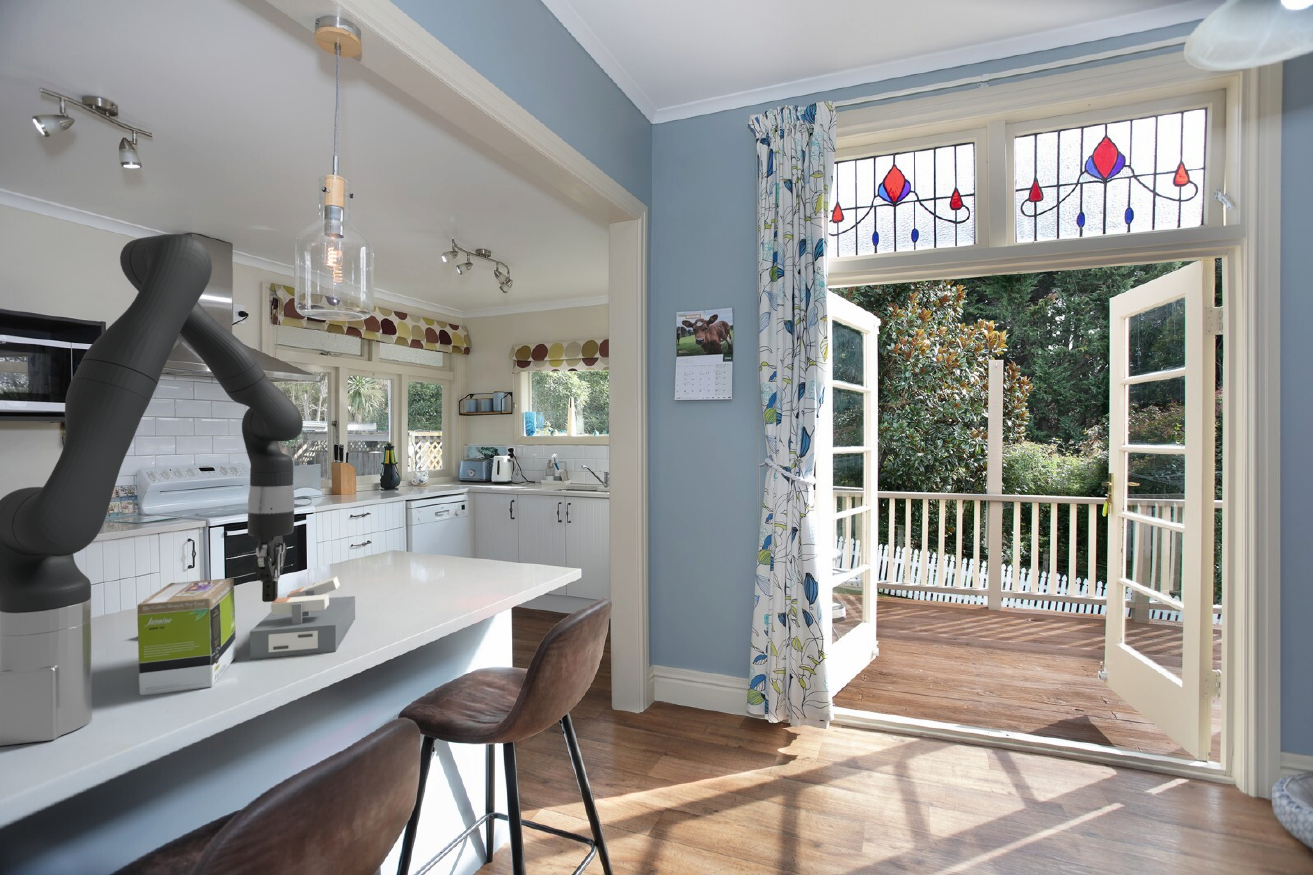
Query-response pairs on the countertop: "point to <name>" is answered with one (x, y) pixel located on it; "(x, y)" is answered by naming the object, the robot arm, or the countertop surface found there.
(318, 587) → the rocker far
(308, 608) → the rocker near
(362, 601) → the countertop surface
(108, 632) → the countertop surface
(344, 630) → the console
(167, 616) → the tea box
